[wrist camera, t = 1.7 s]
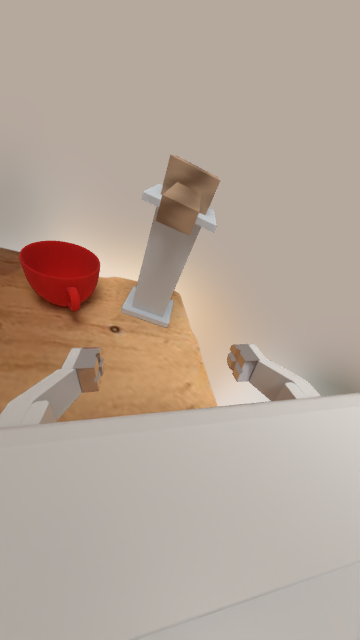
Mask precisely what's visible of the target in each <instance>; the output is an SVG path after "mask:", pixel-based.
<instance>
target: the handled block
mask: <svg viewBox="0 0 360 640" xmlns="http://www.w3.org/2000/svg"><path fill="white" fill-rule="evenodd" d="M219 182H220V180H219V179H218V177H216V176H215V175H213V174H211V173H208V172H207V171H205V170H203V169H201V168H199V167H197V166H195V165H193V164H191V163H189V162H188V161H186V160H184V159H182V158H180V157H178V156H173V155H170V159H169V163H168V167H167V171H166V175H165V179H164V183H163V187H162V191H161V195H162V198H161V202H160V206H159V210H158V213H157V217H156V221H157V222H159V223H162V224H164V225H166V226H168V227H171V228H173V229H175V230H177V231H180V232H182V233H184V234H186V235H189V236H190V234H191V232H192V229H193V227H194V224H195V222H196V219H197V217H198V214H199V213H201V214H203V215H206V213H207V210H208V208H209V206H210V203H211V201H212V199H213V196H214V194H215V192H216V189H217V187H218V185H219Z"/></svg>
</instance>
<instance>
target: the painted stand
mask: <svg viewBox="0 0 360 640" xmlns="http://www.w3.org/2000/svg"><path fill="white" fill-rule="evenodd" d="M162 187H163V185H161V184H157V185H155V186H153V187H151V188H149V189H147V190H146V191H144V192H143V195H142V200H144V201H147V202H149V203H151V204H153V205H155V206H157V207H156V211H155V215H154V219H153V223H152V227H151V231H150V235H149V239H148V243H147V247H146V251H145V255H144V259H143V264H142V267H141V271H140V275H139V280H138V283H137V287H135V286H133V288H132V290H131V292H130V294H129V295H128V297H127V299H126V301H125V303H124V304H123V306H122V308H121V313H124V314H127V315H130V316H133V317H136V318H139V319H142V320H145V321H148V322H151V323H154V324H157V325H160V326H163V327H165V328H167V327H168V325H169V321H170V316H171V311H172V307H173V302H174V301H173V300H170V298H171V296H172V294H173V291H174V289H175V287H176V284H177V282H178V280H179V277H180V275H181V272H182V270H183V268H184V265H185V263H186V261H187V258H188V256H189V254H190V252H191V249H192V247H193V245H194V242H195V240H196V238H197V235H198V233H199V230H200V228H201V227H203V228H205V229H207V230H210V231H212V232H214V231H215V229H216V227H217V224H216V219H215V214H214V210H213V209H211V208H208V210H207V213H206V215H203V214H201V213H199V214H198V217H197V219H196V222H195V224H194V227H193V229H192V232H191V234H190V236H189V235H186V234H184V233H182V232H180V231H177V230H175V229H173V228H171V227H168V226H166V225H164V224H162V223H159V222H157V221H156V217H157V213H158V210H159V206H160V202H161V198H162V195H161V191H162Z"/></svg>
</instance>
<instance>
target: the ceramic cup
mask: <svg viewBox="0 0 360 640" xmlns="http://www.w3.org/2000/svg"><path fill="white" fill-rule="evenodd" d="M19 259H20V262H21V265H22V268H23V270H24V273H25V276H26V278H27V280H28V282H29V284H30V285H31V287H32V288H33V289H34V290H35V292H36V293H37V294H38V295H40V296H41V297H42V298H43V299H45V300H47V301H49V302H51V303H53V304H55V305H57V306H61V307H69V308H70V310H71V311H77V310H79V309H80V303H81V302H83V301H85V300H86V299H87V298H89V296H90V295H91V294H92V293H93V291H94V289H95V287H96V285H97V282H98V277H99V271H100V262H99V259H98V258H97V256H95V255H94V254H93V253H92V252H90V251H89V250H87V249H86V248H84V247H81V246H79V245H75V244H72V243H67V242H61V241H40V242H35V243H31V244H29V245H27V246H25V247H24V248H23V249H22V250H21V252H20V255H19Z"/></svg>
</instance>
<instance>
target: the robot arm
mask: <svg viewBox="0 0 360 640" xmlns="http://www.w3.org/2000/svg"><path fill="white" fill-rule="evenodd" d="M230 350H231V352H230V353H229V354H228V357H227V363H228V366H229V368H230V369H231V370H233V373H232V374H233V376H234V377H235V379H236V381H237V382H239V381H249V382H250V383H251V384H252V385H253V386H254V387H256V388H257V389H258V390H259V391H261V393H263V394H264V395H265V396H266V397H267V398H269V399H270V400H271V401H270V402H260V403H251V404H239V405H229V406H219V407H209V408H199V409H188V410H178V411H168V412H157V413H147V414H137V415H127V416H116V417H106V418H96V419H85V420H75V421H65V422H57V420H58V419H59V418H60V417H61V415H62V414H63V413H64V412H65V411H66V410H67V409H68V408H69V407H70V406H71V405H72V404H73V403H74V402H75V401H76V399H77V398H78V397H79V396H80V395H81V394H82V393H84V392H95V391H99V388H100V384H101V376H102V375H103V372H104V359H103V358H102V354H103V351H102V348H72V349H71V350H70V352H69V354H68V356H67V358H66V360H65V362H64V364H63V366H62V368H61V369H59V370H56V371H55V372H53V373H52V374H50V375H49V376H47V377H46V378H44V379H43V380H41V381H40V382H38V383H37V384H35V385H34V386H32V387H31V388H30V389H28V390H27V391H25V392H24V393H22V394H21V395H19V396H18V397H16V398H15V399H13V400H12V401H10V402H9V403H8V404H7V406H6V407H5V409H4V410H3V411H2V413H1V414H0V640H360V393H353V394H343V395H332V396H322V397H321V396H320V395H319V394H318V393H317V392H316V390H315V389H314V388H313V387H312V386H311V385H310V384H309V383H308V382H307V381H306V380H304V379H302V378H301V377H299V376H297V375H295V374H293V373H292V372H290V371H288V370H286V369H285V368H283V367H281V366H279V365H277V364H276V363H274V362H272V361H270V360H267V359H266V358H265V357H264V355H263V354H262V353H261V352H260V350H259V349H258V348H257V347H256V345H254V344H240V345H232V346H231V348H230Z"/></svg>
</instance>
